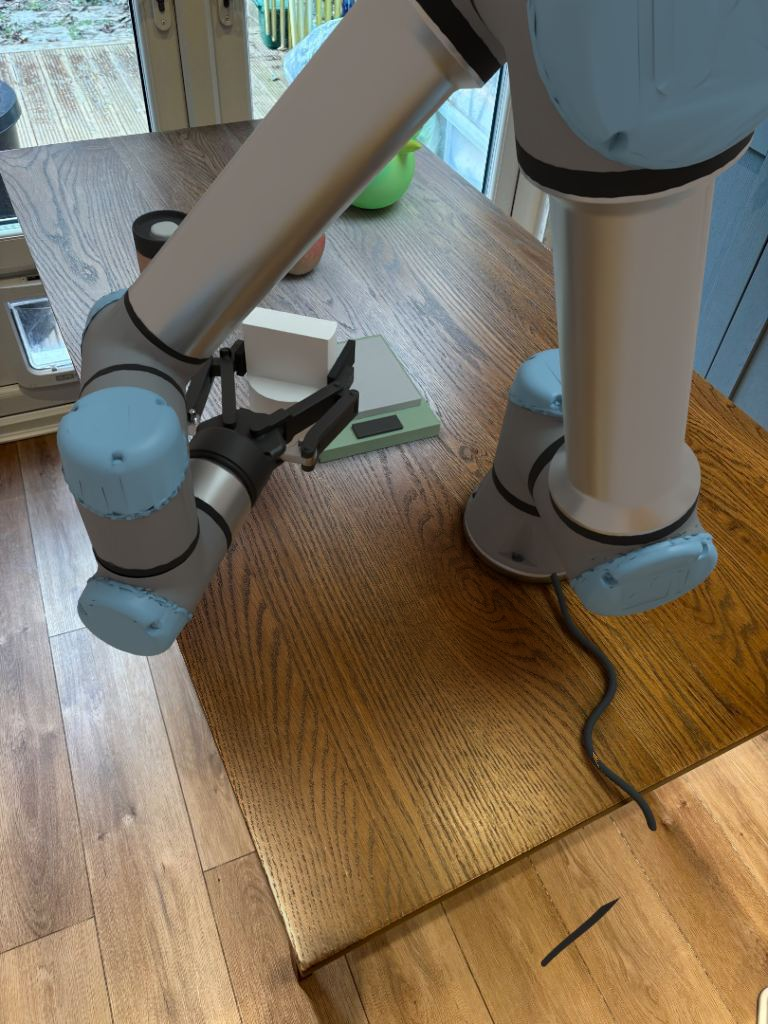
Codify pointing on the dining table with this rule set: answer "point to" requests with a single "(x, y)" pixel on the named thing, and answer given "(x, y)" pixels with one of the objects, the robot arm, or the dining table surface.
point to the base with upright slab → (286, 359)
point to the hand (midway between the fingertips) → (307, 340)
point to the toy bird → (391, 179)
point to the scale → (381, 404)
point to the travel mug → (154, 233)
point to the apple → (310, 258)
